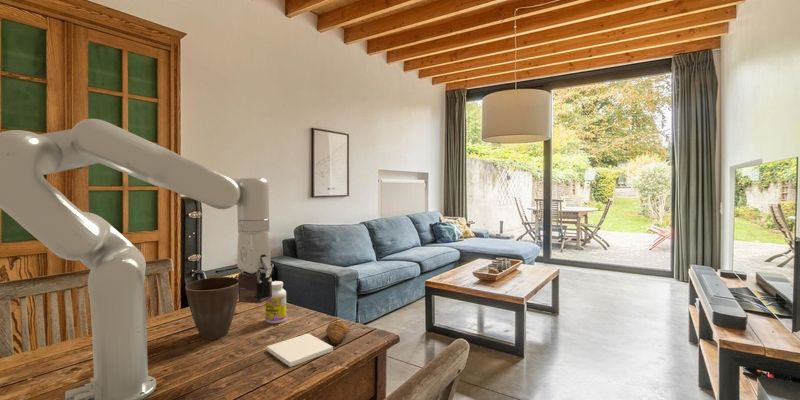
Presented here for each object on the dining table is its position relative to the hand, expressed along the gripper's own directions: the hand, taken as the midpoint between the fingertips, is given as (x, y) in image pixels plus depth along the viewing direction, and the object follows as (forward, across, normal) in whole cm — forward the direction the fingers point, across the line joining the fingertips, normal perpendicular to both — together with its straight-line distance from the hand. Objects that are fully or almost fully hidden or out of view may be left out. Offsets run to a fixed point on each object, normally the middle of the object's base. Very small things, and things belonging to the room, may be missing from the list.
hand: (255, 293), depth 97 cm
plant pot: (+18, -26, -2) cm, 32 cm away
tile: (+18, +2, +11) cm, 22 cm away
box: (+2, 0, 0) cm, 2 cm away
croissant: (+19, +1, +24) cm, 31 cm away
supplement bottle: (+18, -24, +17) cm, 35 cm away
